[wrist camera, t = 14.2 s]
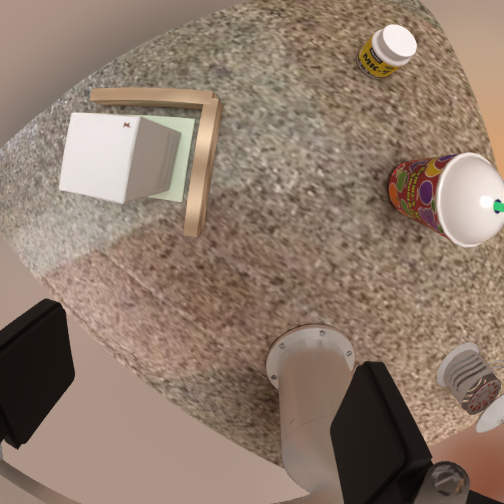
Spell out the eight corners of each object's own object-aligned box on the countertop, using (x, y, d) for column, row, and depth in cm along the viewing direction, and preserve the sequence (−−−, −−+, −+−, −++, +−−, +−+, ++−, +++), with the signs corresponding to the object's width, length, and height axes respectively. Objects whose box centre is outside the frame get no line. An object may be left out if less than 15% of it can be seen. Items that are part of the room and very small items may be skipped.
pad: (182, 201, 35) (181, 202, 35) (110, 191, 35) (108, 192, 35) (195, 119, 33) (194, 119, 32) (121, 115, 33) (119, 114, 32)
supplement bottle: (349, 64, 30) (371, 39, 22) (365, 40, 29) (389, 13, 21) (381, 86, 31) (410, 68, 22) (396, 62, 29) (425, 41, 21)
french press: (430, 366, 41) (501, 475, 17) (481, 325, 39) (569, 410, 14) (442, 395, 43) (500, 491, 18) (489, 358, 40) (559, 439, 16)
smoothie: (370, 165, 33) (473, 166, 14) (424, 148, 32) (538, 144, 13) (388, 229, 35) (488, 286, 16) (439, 209, 34) (549, 246, 15)
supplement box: (128, 124, 33) (70, 108, 20) (183, 132, 33) (142, 114, 21) (116, 181, 34) (56, 190, 22) (169, 193, 35) (124, 205, 22)
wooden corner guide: (203, 230, 36) (196, 237, 32) (91, 212, 36) (75, 216, 32) (224, 100, 32) (220, 92, 28) (107, 95, 32) (92, 88, 28)
